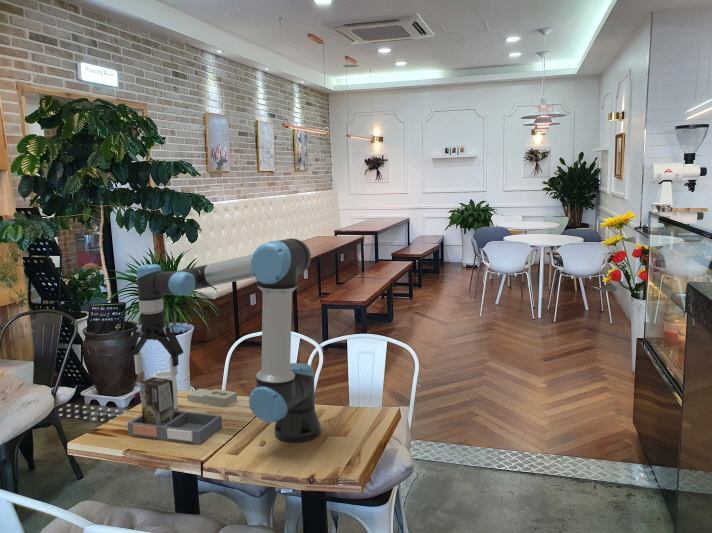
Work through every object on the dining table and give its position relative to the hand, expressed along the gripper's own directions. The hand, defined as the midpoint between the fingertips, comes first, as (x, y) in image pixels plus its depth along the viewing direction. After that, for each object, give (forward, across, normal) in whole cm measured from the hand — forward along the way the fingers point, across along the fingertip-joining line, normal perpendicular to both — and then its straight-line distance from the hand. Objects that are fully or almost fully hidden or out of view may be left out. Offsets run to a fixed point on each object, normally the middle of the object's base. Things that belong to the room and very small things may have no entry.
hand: (156, 374), depth 187 cm
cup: (+19, +8, -15) cm, 26 cm away
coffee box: (+19, 0, 0) cm, 19 cm away
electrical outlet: (+20, -3, -28) cm, 34 cm away
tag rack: (+19, -6, 0) cm, 20 cm away
